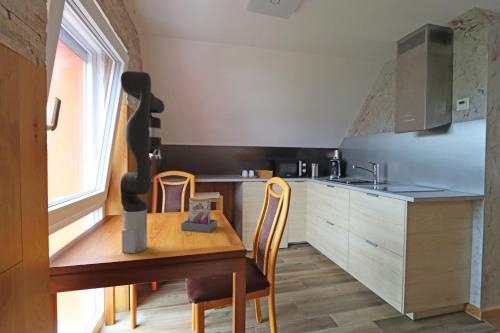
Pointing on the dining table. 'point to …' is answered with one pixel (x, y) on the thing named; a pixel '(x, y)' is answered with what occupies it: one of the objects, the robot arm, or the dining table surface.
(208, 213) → the candy bar box
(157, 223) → the dining table surface
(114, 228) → the dining table surface
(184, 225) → the tray
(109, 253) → the dining table surface
